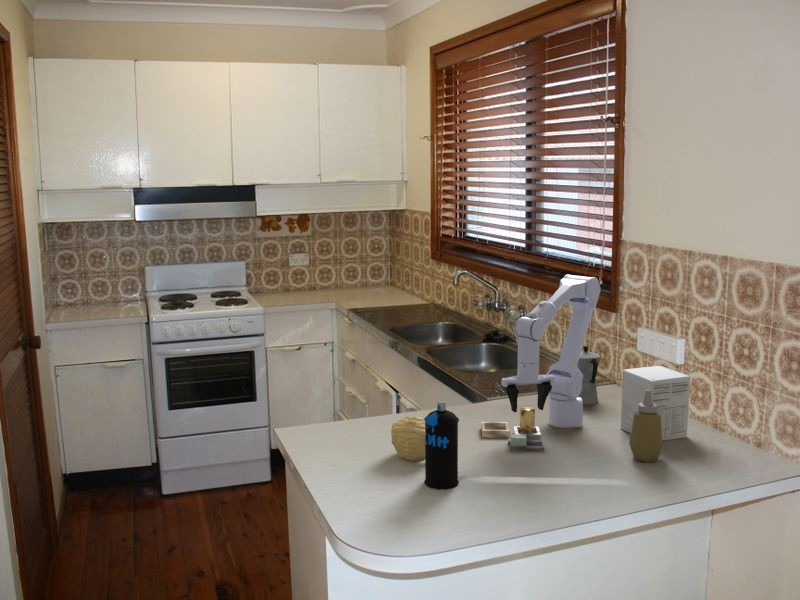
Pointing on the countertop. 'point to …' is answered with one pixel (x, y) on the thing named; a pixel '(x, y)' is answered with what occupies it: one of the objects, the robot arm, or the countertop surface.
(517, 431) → the steel socket
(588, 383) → the coffeepot
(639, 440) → the squeeze bottle
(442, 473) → the aerosol can
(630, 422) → the supplement box
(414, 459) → the sculpture
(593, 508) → the countertop surface
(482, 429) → the ash socket frame
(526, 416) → the brass cylinder plug
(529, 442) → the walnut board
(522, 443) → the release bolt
